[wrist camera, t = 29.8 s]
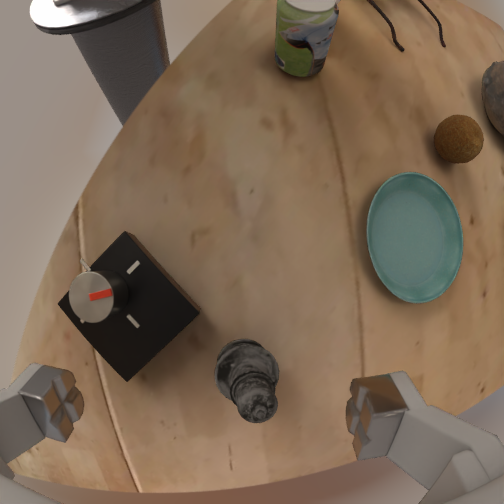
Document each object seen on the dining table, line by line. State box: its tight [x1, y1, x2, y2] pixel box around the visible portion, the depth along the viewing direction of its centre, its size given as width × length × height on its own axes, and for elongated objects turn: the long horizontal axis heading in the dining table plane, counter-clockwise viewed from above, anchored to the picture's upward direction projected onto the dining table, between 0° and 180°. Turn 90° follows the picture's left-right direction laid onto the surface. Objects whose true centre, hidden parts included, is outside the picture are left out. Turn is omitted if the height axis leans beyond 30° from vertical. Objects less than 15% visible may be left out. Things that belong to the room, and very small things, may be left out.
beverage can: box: [275, 0, 339, 77], centre depth 26 cm, size 6×7×12 cm
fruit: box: [434, 115, 484, 163], centre depth 31 cm, size 6×6×8 cm
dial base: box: [58, 231, 201, 382], centre depth 27 cm, size 11×10×3 cm
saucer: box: [367, 172, 463, 303], centre depth 32 cm, size 15×15×3 cm
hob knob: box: [69, 271, 129, 323], centre depth 23 cm, size 4×4×5 cm
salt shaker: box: [215, 339, 279, 423], centre depth 24 cm, size 6×6×12 cm
